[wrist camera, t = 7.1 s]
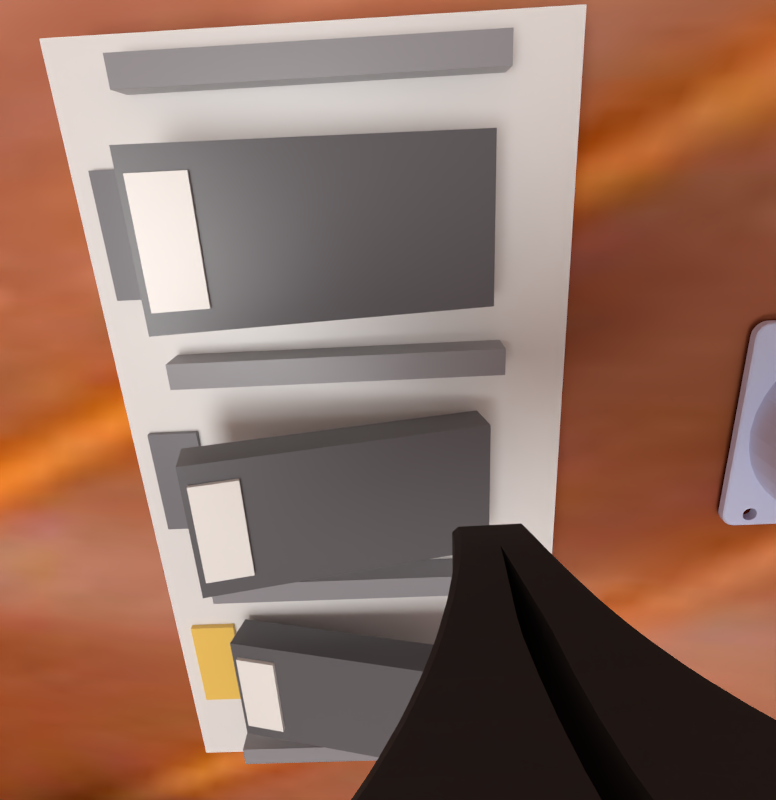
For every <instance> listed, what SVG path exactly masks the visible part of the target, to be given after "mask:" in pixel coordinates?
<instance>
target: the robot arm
mask: <svg viewBox="0 0 776 800" xmlns="http://www.w3.org/2000/svg"><path fill="white" fill-rule="evenodd" d="M750 508H751V509H750ZM747 509H750V511H749V512H748V513H747V514H743V513H744V511H746V510H747ZM718 511H719V516H720V518H721V519H722V520H723V521H724V522H725V523H727V524H729V525H753V524H776V320H768V321H764V322H761V323H759V324H758V325H756V327H755V328H754V329H753V330H752V333H751V335H750V341H749V346H748V352H747V357H746V363H745V368H744V373H743V379H742V384H741V390H740V395H739V401H738V406H737V412H736V417H735V423H734V428H733V434H732V439H731V445H730V450H729V455H728V461H727V466H726V472H725V477H724V483H723V488H722V494H721V499H720V505H719V510H718ZM452 563H453V573H452V578H451V583H450V588H449V594H448V598H447V602H446V606H445V609H444V613H443V616H442V619H441V623H440V626H439V630H438V633H437V636H436V639H435V642H434V645H433V647H432V650H431V653H430V655H429V658H428V660H427V663H426V665H425V668H424V670H423V673H422V675H421V677H420V680H419V682H418V684H417V686H416V688H415V690H414V693H413V695H412V697H411V699H410V701H409V703H408V705H407V707H406V709H405V711H404V713H403V715H402V717H401V719H400V721H399V723H398V725H397V727H396V728H395V730H394V732H393V733H392V735H391V737H390V739H389V740H388V742H387V744H386V746H385V747H384V749H383V751H382V753H381V754H380V756H379V758H378V759H377V761H376V763H375V765H374V766H373V768H372V769H371V771H370V773H369V774H368V776H367V777H366V779H365V780H364V782H363V783H362V785H361V786H360V788H359V789H358V791H357V792H356V793H355V795H354V796H353V798H352V799H351V800H776V720H775V719H773V718H771V717H769V716H768V715H766V714H764V713H762V712H760V711H759V710H757V709H755V708H753V707H751V706H750V705H748V704H746V703H745V702H743V701H741V700H740V699H738V698H736V697H735V696H733V695H732V694H730V693H728V692H727V691H725V690H723V689H722V688H720V687H718V686H717V685H715V684H713V683H712V682H710V681H709V680H707V679H705V678H704V677H702V676H701V675H699V674H698V673H696V672H695V671H693V670H692V669H690V668H688V667H687V666H685V665H684V664H682V663H681V662H680V661H678V660H677V659H675V658H674V657H673V656H671V655H670V654H668V653H667V652H666V651H664V650H663V649H661V648H660V647H658V646H657V645H656V644H654V643H653V642H651V641H650V640H649V639H647V638H646V637H645V636H643V635H642V634H641V633H639V632H638V631H637V630H635V629H634V628H633V627H632V626H630V625H629V624H628V623H627V622H625V621H624V620H623V619H622V618H621V617H619V616H618V615H617V614H616V613H615V612H613V611H612V610H611V609H610V608H608V607H607V606H606V605H605V604H604V603H603V602H602V601H600V600H599V599H598V598H597V597H596V596H595V595H594V594H593V593H592V592H590V591H589V590H588V589H587V588H586V587H585V586H584V585H583V584H582V583H581V582H580V581H579V580H578V579H576V578H575V577H574V576H573V575H572V574H571V573H570V572H569V571H568V570H567V569H566V568H565V567H564V566H563V565H562V564H561V563H560V562H559V561H558V560H557V559H556V558H555V557H554V556H553V555H552V554H551V553H550V552H549V551H548V550H547V549H546V548H545V547H544V546H543V545H542V544H541V543H540V542H539V541H538V540H537V539H536V538H535V537H534V535H533V534H532V533H531V532H530V531H529V530H528V529H527V528H526V527H525V526H524V525H522V524H521V523H520V524H501V525H481V526H462V527H457V528H456V529H455V530H454V531H453V532H452Z"/></svg>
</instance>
